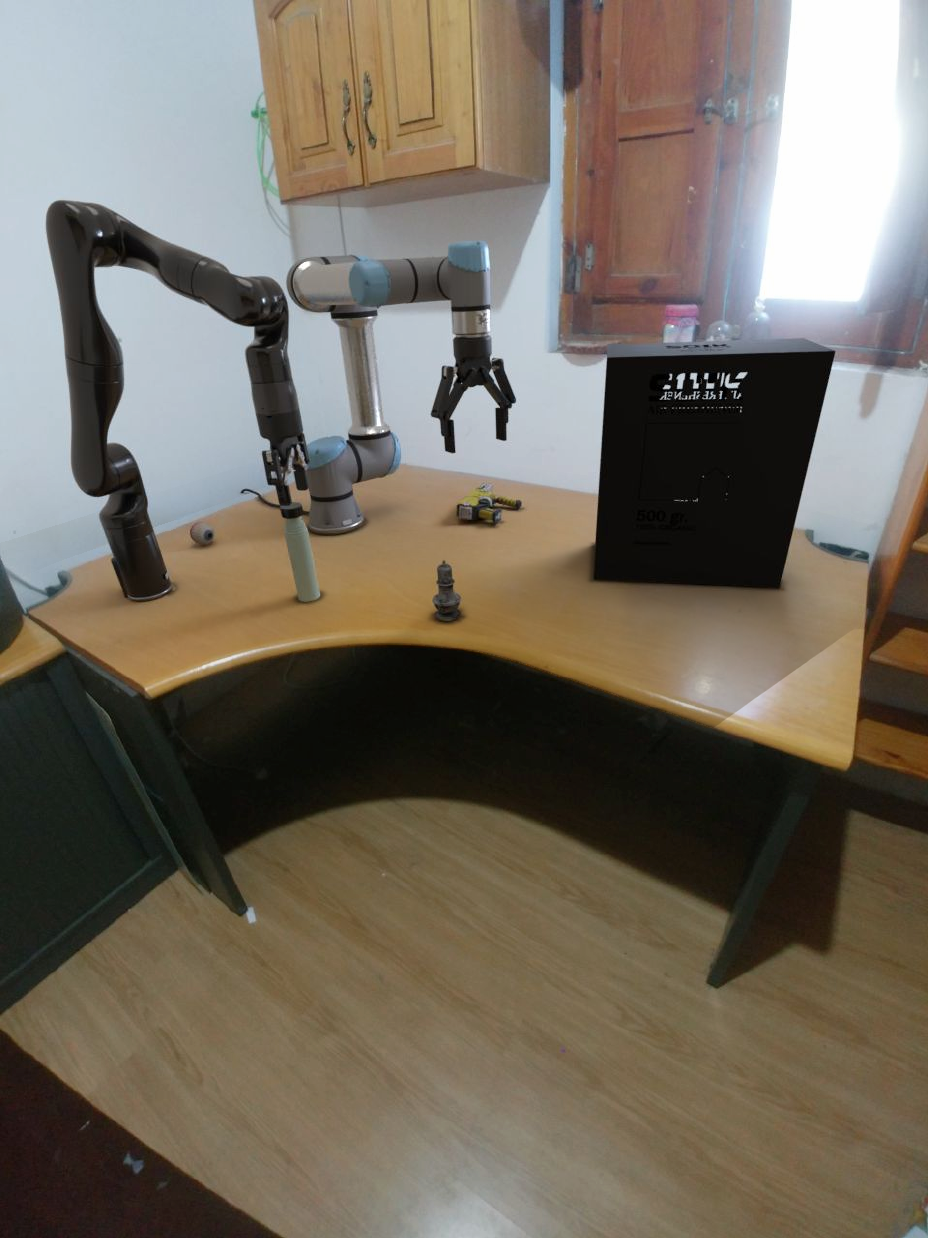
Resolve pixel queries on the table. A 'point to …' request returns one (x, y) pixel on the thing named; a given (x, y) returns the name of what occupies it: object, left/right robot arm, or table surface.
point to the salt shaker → (446, 595)
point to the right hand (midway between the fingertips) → (476, 445)
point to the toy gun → (483, 505)
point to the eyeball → (202, 533)
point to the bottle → (301, 559)
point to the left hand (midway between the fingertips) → (294, 497)
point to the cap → (292, 510)
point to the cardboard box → (706, 459)
